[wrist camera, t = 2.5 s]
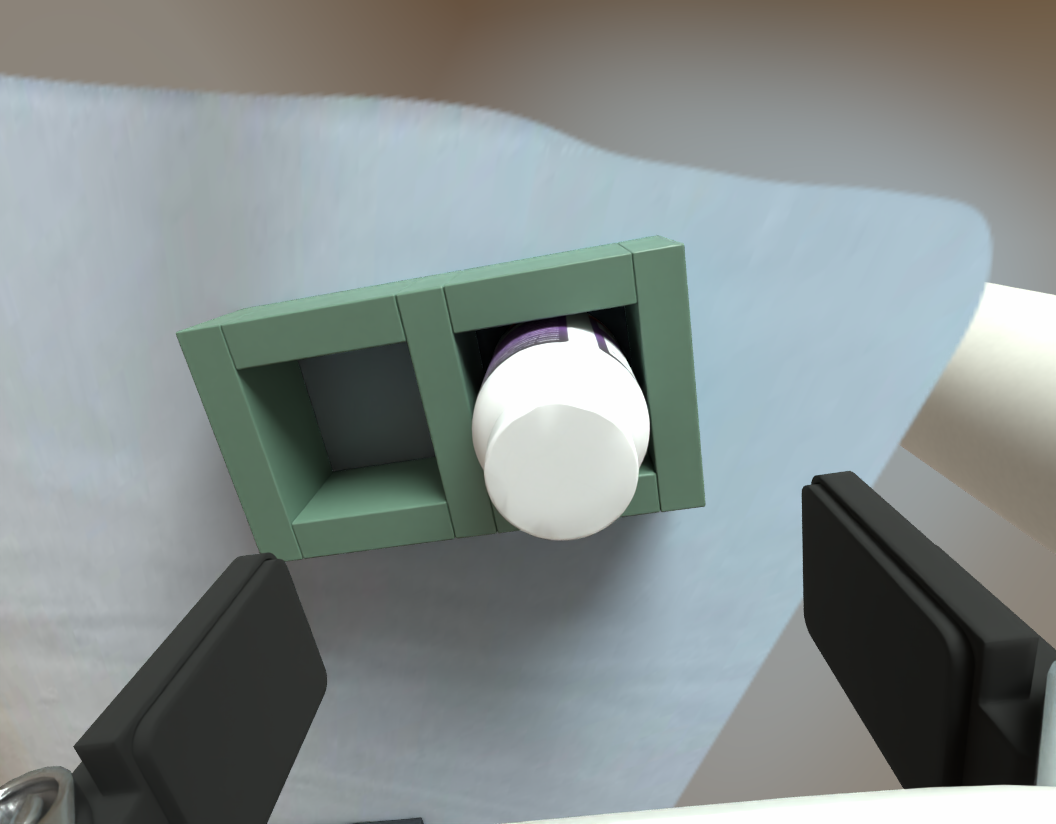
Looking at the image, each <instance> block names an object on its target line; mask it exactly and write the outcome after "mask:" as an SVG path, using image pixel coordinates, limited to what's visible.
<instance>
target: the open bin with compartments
mask: <svg viewBox="0 0 1056 824" xmlns="http://www.w3.org/2000/svg"><path fill="white" fill-rule="evenodd" d="M619 306H625V314H626V323H627V331H628V339H629V348H630V356H631V364H632V372H633V375H634V377H635V379H636V380H637V382H638V384H639V386H640V389H641V391H642V393H643V396H644V398H645V402H646V405H647V409H648V414H649V422H650V432H649V442H648V447H647V451H646V454H645V456H644V459H643V461H642V463H641V465H640V467H639V475H638V483H637V487H636V491H635V493H634V496H633V498H632V500H631V502H630V503H629V505H628V506H627V508H626V509H625V511H624V512H623V513H622V514H621V515H620V517H626V516H633V515H641V514H649V513H656V512H660V510H661V512H666V511H674V510H681V509H689V508H696V507H704V506H705V493H704V481H703V468H702V456H701V444H700V432H699V420H698V408H697V395H696V383H695V371H694V359H693V347H692V334H691V322H690V310H689V298H688V286H687V273H686V261H685V249H684V244H683V243H680V242H676V241H673V240H670V239H667V238H664V237H661V236H658V235H657V236H652V237H646V238H641V239H635V240H629V241H624V242H619V243H612V244H607V245H601V246H595V247H590V248H584V249H578V250H573V251H567V252H562V253H556V254H550V255H545V256H539V257H533V258H528V259H522V260H516V261H511V262H505V263H499V264H494V265H488V266H483V267H477V268H471V269H466V270H463V271H455V272H449V273H443V274H438V275H432V276H426V277H424V278H422V277H421V278H415V279H409V280H404V281H398V282H392V283H387V284H381V285H375V286H370V287H364V288H358V289H353V290H347V291H342V292H336V293H330V294H325V295H319V296H313V297H308V298H302V299H296V300H291V301H285V302H280V303H274V304H268V305H262V306H257V307H251V308H245V309H241V310H239V311H236V312H233V313H230V314H227V315H224V316H221V317H218V318H216V319H213V320H210V321H207V322H204V323H201V324H198V325H195V326H192V327H190V328H187V329H184V330H181V331H178V332H176V335H177V338H178V341H179V343H180V346H181V349H182V351H183V354H184V356H185V359H186V362H187V364H188V367H189V369H190V372H191V375H192V377H193V380H194V382H195V385H196V388H197V390H198V393H199V395H200V398H201V401H202V403H203V406H204V409H205V411H206V414H207V416H208V419H209V422H210V424H211V427H212V429H213V432H214V435H215V437H216V440H217V442H218V445H219V448H220V450H221V453H222V455H223V458H224V461H225V463H226V466H227V468H228V471H229V474H230V476H231V479H232V482H233V484H234V487H235V489H236V492H237V495H238V497H239V500H240V502H241V505H242V508H243V510H244V513H245V515H246V518H247V521H248V523H249V526H250V528H251V531H252V534H253V536H254V539H255V542H256V544H257V547H258V549H259V552H260V553H268V552H270V553H272V554H274V555H275V556H276V557H277V559H282V560H283V561H284V562H285V561H293V560H301V559H303V558H305V559H306V558H314V557H321V556H329V555H337V554H344V553H352V552H359V551H367V550H375V549H382V548H390V547H397V546H405V545H413V544H420V543H428V542H436V541H443V540H451V539H455V537H456V538H465V537H473V536H481V535H488V534H495V533H497V531H498V533H504V532H511V531H519V530H520V529H518V528H517V527H515V526H513V525H512V524H511V523H509V522H508V521H507V520H506V519H505V518H504V517H503V516H502V515H501V514H500V513H499V511H498V510H497V509H496V507H495V506H494V504H493V503H492V501H491V499H490V497H489V494H488V491H487V488H486V485H485V479H484V470H483V468H482V467H481V465H480V463H479V460H478V458H477V455H476V452H475V449H474V445H473V439H472V419H473V412H474V408H475V403H476V400H477V397H478V394H479V391H480V388H481V386H482V383H483V380H484V377H485V374H484V369H483V365H482V360H481V355H480V350H479V345H478V341H477V336H476V331H475V330H481V329H487V328H493V327H499V326H505V325H511V324H517V323H523V322H529V321H535V320H541V319H547V318H553V317H559V316H565V315H571V314H577V313H583V312H589V311H595V310H601V309H607V308H613V307H619ZM406 341H407V344H408V348H409V352H410V356H411V360H412V364H413V368H414V372H415V376H416V380H417V384H418V388H419V392H420V396H421V400H422V404H423V408H424V412H425V416H426V420H427V424H428V428H429V432H430V436H431V440H432V444H433V448H434V452H435V456H436V457H431V458H424V459H418V460H411V461H404V462H397V463H390V464H383V465H376V466H370V467H363V468H356V469H349V470H342V471H335V472H333V471H332V468H331V465H330V462H329V458H328V455H327V452H326V449H325V446H324V443H323V440H322V436H321V433H320V430H319V427H318V424H317V421H316V417H315V414H314V411H313V408H312V405H311V402H310V399H309V395H308V392H307V389H306V386H305V383H304V380H303V377H302V373H301V370H300V367H299V364H298V361H297V360H301V359H307V358H313V357H319V356H325V355H331V354H337V353H343V352H349V351H355V350H361V349H367V348H373V347H379V346H385V345H391V344H397V343H403V342H406Z"/></svg>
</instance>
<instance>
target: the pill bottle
mask: <svg viewBox="0 0 1056 824" xmlns="http://www.w3.org/2000/svg"><path fill="white" fill-rule="evenodd" d="M649 432H650V422H649V414H648V409H647V405H646V402H645V398H644V396H643V393H642V391H641V389H640V386H639V384H638V382H637V380H636V379H635V377H634V375H633V372H632V370H631V368H630V366H629V364H628V362H627V360H626V358H625V356H624V354H623V352H622V350H621V348H620V346H619V344H618V342H617V340H616V339H615V337H614V336H613V334H612V333H611V332H610V330H609V329H608V328H607V327H606V326H605V325H604V324H603V323H602V322H600V321H599V320H598V319H596V318H595V317H593V316H592V315H590V314H588V313H586V312H583V313H577V314H571V315H565V316H559V317H553V318H547V319H541V320H535V321H529V322H523V323H517V324H512V325H511V326H510V327H509V328H508V329H507V330H506V331H505V332H504V334H503V335H502V337H501V338H500V340H499V342H498V343H497V345H496V348H495V350H494V352H493V355H492V358H491V361H490V364H489V367H488V369H487V372H486V375H485V377H484V380H483V383H482V386H481V388H480V391H479V394H478V397H477V400H476V403H475V408H474V412H473V419H472V439H473V445H474V449H475V452H476V455H477V458H478V460H479V463H480V465H481V467H482V468H483V470H484V479H485V485H486V488H487V491H488V494H489V497H490V499H491V501H492V503H493V504H494V506H495V507H496V509H497V510H498V511H499V513H500V514H501V515H502V516H503V517H504V518H505V519H506V520H507V521H508V522H509V523H511V524H512V525H513V526H515V527H517V528H518V529H520V530H521V531H524V532H526V533H528V534H530V535H533V536H535V537H539V538H543V539H549V540H560V541H562V540H574V539H579V538H583V537H587V536H590V535H593V534H595V533H597V532H599V531H601V530H603V529H605V528H606V527H608V526H609V525H611V524H612V523H613V522H614V521H615V520H616V519H617V518H619V517H620V515H621V514H622V513H623V512H624V511H625V509H626V508H627V506H628V505H629V503H630V502H631V500H632V498H633V496H634V493H635V491H636V487H637V483H638V475H639V467H640V465H641V463H642V461H643V459H644V456H645V454H646V451H647V447H648V442H649Z"/></svg>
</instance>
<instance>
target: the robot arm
mask: <svg viewBox="0 0 1056 824" xmlns="http://www.w3.org/2000/svg"><path fill="white" fill-rule="evenodd" d="M802 538H803V597H804V618H805V623H806V626H807V629H808V631H809V634H810V635H811V637H812V639H813V641H814V642H815V644H816V646H817V647H818V649H819V651H820V652H821V654H822V655H823V657H824V659H825V660H826V662H827V664H828V665H829V667H830V668H831V670H832V672H833V673H834V675H835V677H836V678H837V680H838V682H839V683H840V685H841V687H842V688H843V690H844V691H845V693H846V695H847V696H848V698H849V700H850V701H851V703H852V705H853V706H854V708H855V710H856V711H857V713H858V715H859V716H860V718H861V720H862V721H863V723H864V724H865V726H866V728H867V729H868V731H869V733H870V734H871V736H872V737H873V739H874V741H875V742H876V744H877V746H878V747H879V749H880V751H881V752H882V754H883V756H884V757H885V759H886V761H887V762H888V764H889V765H890V767H891V769H892V770H893V772H894V774H895V775H896V777H897V779H898V780H899V782H900V784H901V785H902V787H903V788H904V789H901V790H888V791H887V790H886V791H872V792H859V793H844V794H831V795H816V796H802V797H791V798H780V799H768V800H757V801H745V802H735V803H723V804H712V805H701V806H689V807H678V808H666V809H655V810H644V811H633V812H621V813H610V814H599V815H588V816H578V817H567V818H556V819H546V820H535V821H525V822H514V823H503V824H1056V650H1055V649H1054V648H1053V647H1052V646H1051V645H1050V644H1048V643H1047V642H1046V641H1045V640H1044V639H1043V638H1042V637H1041V636H1039V635H1038V634H1037V633H1036V632H1035V631H1034V630H1033V629H1032V628H1030V627H1029V626H1028V625H1027V624H1026V623H1025V622H1024V621H1022V620H1021V619H1020V618H1019V617H1018V616H1017V615H1016V614H1014V613H1013V612H1012V611H1011V610H1010V609H1009V608H1008V607H1007V606H1005V605H1004V604H1003V603H1002V602H1001V601H1000V600H999V599H997V598H996V597H995V596H994V595H993V594H992V593H991V592H990V591H988V590H987V589H986V588H985V587H984V586H982V584H980V583H979V582H978V581H977V580H976V579H975V578H973V576H971V575H970V574H969V573H968V572H967V571H965V569H963V568H962V567H961V566H960V565H959V564H958V563H957V562H956V561H954V560H953V559H952V558H951V557H950V556H949V555H948V554H946V553H945V552H944V551H943V550H942V549H941V548H940V547H938V546H937V545H935V544H934V543H932V541H930V540H929V539H928V538H927V537H926V536H925V535H924V534H923V533H921V532H920V531H919V530H918V529H917V528H916V527H915V526H913V525H912V524H911V523H910V522H909V521H908V520H906V519H905V518H904V517H903V516H902V515H901V514H900V513H899V512H898V511H896V510H895V509H894V508H893V507H892V506H891V505H890V504H889V503H887V502H886V501H885V500H884V499H883V498H881V496H879V495H878V494H877V493H876V492H875V491H874V490H873V489H872V488H870V487H869V486H868V485H867V484H866V483H865V482H864V481H863V480H861V479H860V478H859V477H858V476H857V475H856V474H855V473H853V472H851V471H845V472H838V473H831V474H824V475H817V476H814V477H813V479H812V482H811V485H806V486H804V487H803V489H802ZM326 687H327V673H326V669H325V666H324V664H323V661H322V658H321V656H320V653H319V650H318V648H317V645H316V642H315V640H314V637H313V634H312V632H311V629H310V626H309V624H308V621H307V618H306V616H305V613H304V610H303V607H302V605H301V602H300V599H299V597H298V594H297V591H296V589H295V586H294V583H293V581H292V578H291V575H290V573H289V570H288V567H287V565H286V563H285V562H284V561H283V560H282V559H277V557H276V556H275V555H274V554H272V553H270V552H268V553H260V554H253V555H246V556H240V557H237V558H236V559H235V560H234V561H233V562H232V563H231V564H230V565H229V566H228V568H227V569H226V570H225V571H224V572H223V573H222V575H221V576H220V577H219V578H218V579H217V580H216V582H215V583H214V584H213V585H212V586H211V587H210V588H209V590H208V591H207V592H206V593H205V594H204V595H203V597H202V598H201V599H200V600H199V601H198V602H197V604H196V605H195V606H194V607H193V608H192V609H191V611H190V612H189V613H188V614H187V615H186V616H185V617H184V619H183V620H182V621H181V622H180V623H179V624H178V626H177V627H176V628H175V629H174V630H173V631H172V633H171V634H170V635H169V636H168V637H167V638H166V640H165V641H164V642H163V643H162V644H161V645H160V647H159V648H158V649H157V650H156V651H155V652H154V653H153V655H152V656H151V657H150V658H149V659H148V660H147V662H146V663H145V664H144V665H143V666H142V667H141V669H140V670H139V671H138V672H137V673H136V674H135V676H134V677H133V678H132V679H131V680H130V681H129V682H128V684H127V685H126V686H125V687H124V688H123V689H122V691H121V692H120V693H119V694H118V695H117V696H116V698H115V699H114V700H113V701H112V702H111V703H110V705H109V706H108V707H107V708H106V709H105V710H104V711H103V713H102V714H101V715H100V716H99V717H98V718H97V720H96V721H95V722H94V723H93V724H92V725H91V727H90V728H89V729H88V730H87V731H86V732H85V734H84V735H83V736H82V737H81V738H80V739H79V741H78V742H77V743H76V744H75V745H74V746H73V747H74V749H75V750H76V752H77V754H78V755H79V757H80V759H81V760H82V762H81V763H80V765H79V766H78V767H77V768H76V769H75V771H74V772H73V773H71V771H70V770H68V769H66V768H64V767H62V766H53V767H44V768H41V769H37V770H34V771H30V772H28V773H26V774H24V775H21V776H19V777H17V778H15V779H13V780H11V781H9V782H7V783H6V784H4V785H2V786H1V787H0V824H267V822H268V820H269V818H270V815H271V813H272V811H273V809H274V806H275V804H276V802H277V800H278V797H279V795H280V793H281V791H282V788H283V786H284V784H285V782H286V779H287V777H288V775H289V773H290V770H291V768H292V766H293V764H294V762H295V759H296V757H297V755H298V753H299V750H300V748H301V746H302V744H303V741H304V739H305V737H306V735H307V732H308V730H309V728H310V726H311V723H312V721H313V719H314V717H315V714H316V712H317V710H318V708H319V705H320V703H321V701H322V699H323V696H324V694H325V691H326Z"/></svg>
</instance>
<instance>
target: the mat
mask: <svg viewBox="0 0 1056 824" xmlns="http://www.w3.org/2000/svg"><path fill="white" fill-rule="evenodd" d="M355 824H424V823H423V820H422V818H415V819H403V820H391V821H379V822H367V823H355Z"/></svg>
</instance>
